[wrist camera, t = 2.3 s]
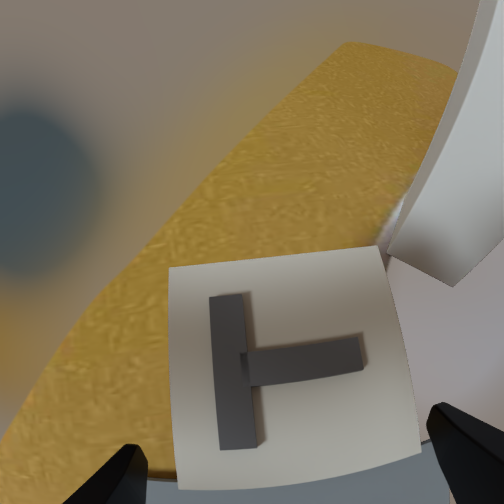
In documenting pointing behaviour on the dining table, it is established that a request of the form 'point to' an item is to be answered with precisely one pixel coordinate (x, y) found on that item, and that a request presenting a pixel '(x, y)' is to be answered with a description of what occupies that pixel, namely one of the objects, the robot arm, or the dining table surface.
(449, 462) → the robot arm
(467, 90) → the milk
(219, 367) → the marked block
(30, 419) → the dining table surface
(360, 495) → the mat
